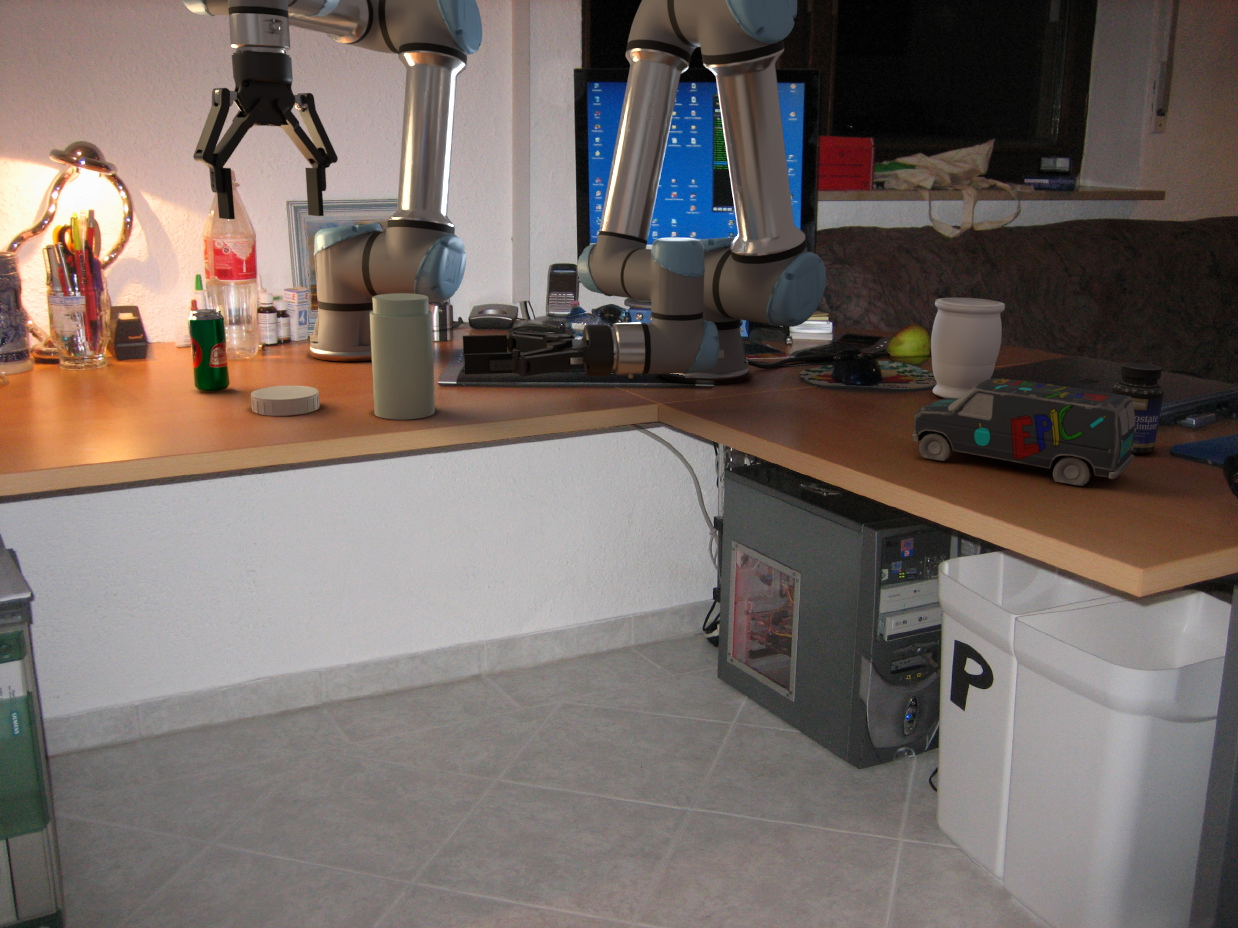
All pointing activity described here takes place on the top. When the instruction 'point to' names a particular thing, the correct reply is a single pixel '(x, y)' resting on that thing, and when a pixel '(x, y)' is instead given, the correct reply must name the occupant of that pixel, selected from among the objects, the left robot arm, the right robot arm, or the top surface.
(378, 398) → the screw-top jar
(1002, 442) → the toy van
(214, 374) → the soda can
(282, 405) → the lid
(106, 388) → the top surface
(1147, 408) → the pill bottle
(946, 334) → the jar
